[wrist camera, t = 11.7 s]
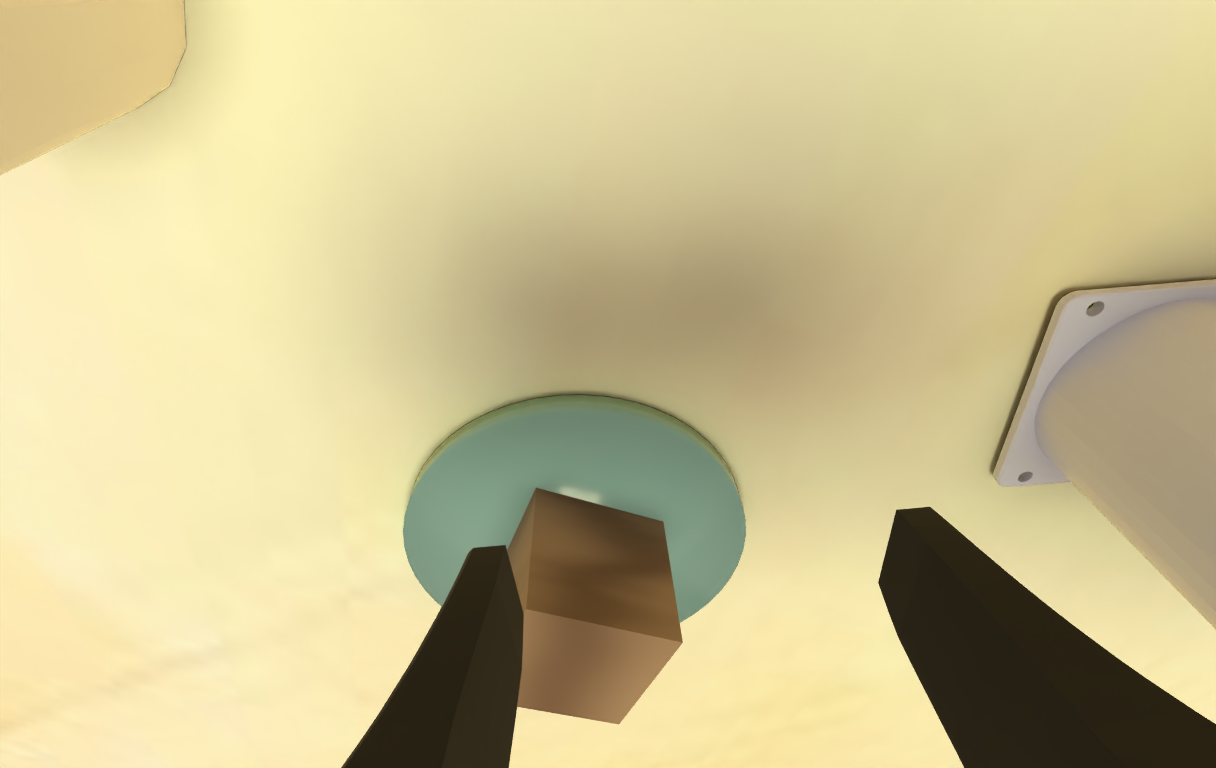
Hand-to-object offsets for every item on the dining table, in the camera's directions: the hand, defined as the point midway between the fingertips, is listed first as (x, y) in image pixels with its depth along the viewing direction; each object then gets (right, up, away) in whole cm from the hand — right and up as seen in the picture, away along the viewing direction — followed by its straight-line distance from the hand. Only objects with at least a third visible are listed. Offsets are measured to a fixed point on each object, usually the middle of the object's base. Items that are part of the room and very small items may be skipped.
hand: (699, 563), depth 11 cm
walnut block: (-3, -3, +12) cm, 13 cm away
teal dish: (-3, -2, +13) cm, 13 cm away
